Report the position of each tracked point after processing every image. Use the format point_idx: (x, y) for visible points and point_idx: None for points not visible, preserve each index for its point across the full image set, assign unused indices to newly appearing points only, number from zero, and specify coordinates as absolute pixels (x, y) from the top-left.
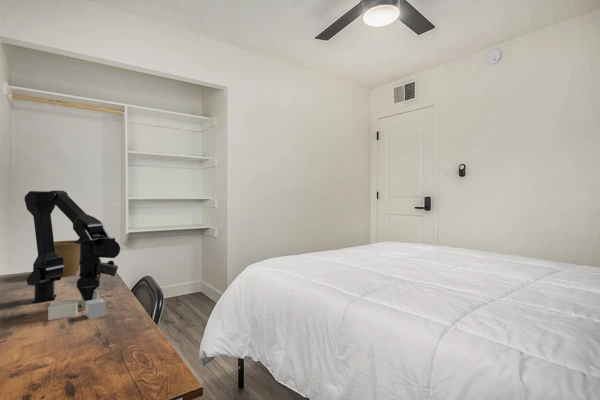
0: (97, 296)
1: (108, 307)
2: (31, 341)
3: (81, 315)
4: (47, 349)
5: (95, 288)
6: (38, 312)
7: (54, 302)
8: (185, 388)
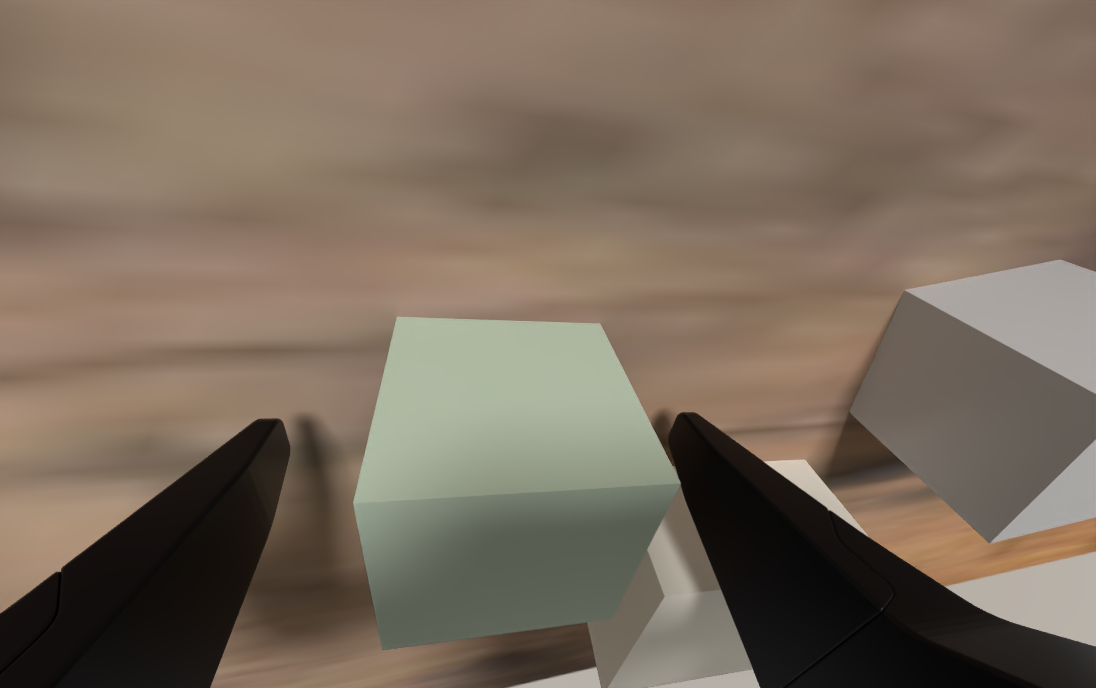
0: (472, 390)
1: (828, 197)
2: (973, 549)
3: (825, 432)
4: None
5: (1081, 654)
6: None
7: (649, 678)
8: None
